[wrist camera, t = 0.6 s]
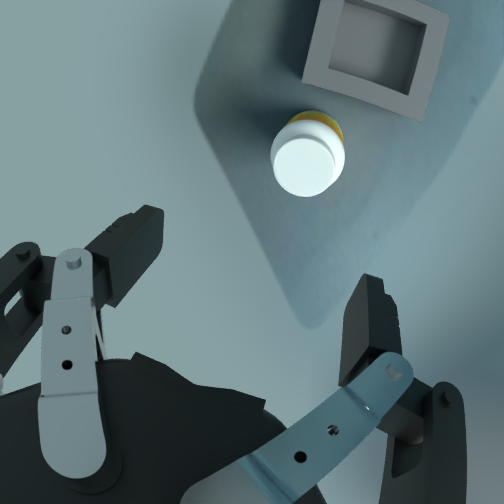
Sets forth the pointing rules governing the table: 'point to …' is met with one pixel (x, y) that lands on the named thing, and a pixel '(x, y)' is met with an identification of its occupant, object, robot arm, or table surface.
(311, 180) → the supplement bottle
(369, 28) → the socket mount
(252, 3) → the table surface
